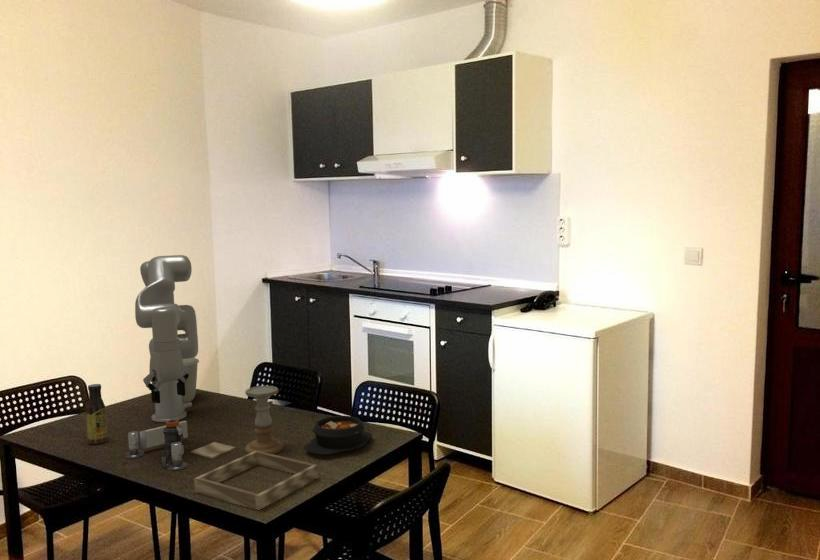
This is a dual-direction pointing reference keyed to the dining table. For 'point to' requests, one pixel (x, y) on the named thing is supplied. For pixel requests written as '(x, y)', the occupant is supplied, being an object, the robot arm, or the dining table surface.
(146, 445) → the gate
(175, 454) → the gate posts
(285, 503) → the dining table surface
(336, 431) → the casserole
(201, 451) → the coaster
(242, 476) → the dining table surface
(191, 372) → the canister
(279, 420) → the dining table surface
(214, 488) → the square wooden frame
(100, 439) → the sauce bottle
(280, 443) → the candle holder
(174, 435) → the pill bottle
